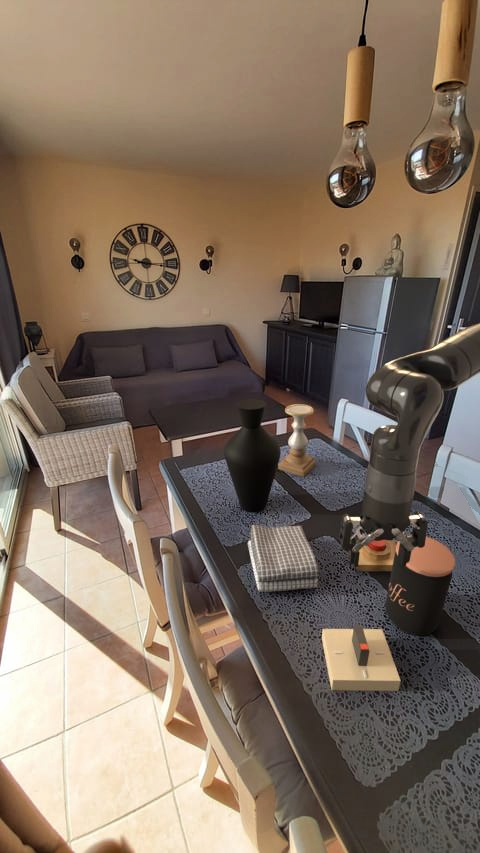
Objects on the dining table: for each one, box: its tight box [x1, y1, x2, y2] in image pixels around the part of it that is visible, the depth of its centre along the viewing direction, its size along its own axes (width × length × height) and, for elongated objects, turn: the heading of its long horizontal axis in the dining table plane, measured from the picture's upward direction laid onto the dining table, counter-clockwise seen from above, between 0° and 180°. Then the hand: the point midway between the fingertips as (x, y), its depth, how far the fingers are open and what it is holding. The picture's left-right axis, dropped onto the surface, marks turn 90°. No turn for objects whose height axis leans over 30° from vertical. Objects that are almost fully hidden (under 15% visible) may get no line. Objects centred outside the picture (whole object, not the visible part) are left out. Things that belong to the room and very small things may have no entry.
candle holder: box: [277, 403, 317, 478], centre depth 134 cm, size 11×11×24 cm
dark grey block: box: [352, 625, 369, 666], centre depth 68 cm, size 5×2×4 cm, turn 178°
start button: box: [369, 540, 386, 551], centre depth 93 cm, size 4×4×2 cm
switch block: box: [355, 539, 397, 572], centre depth 94 cm, size 12×10×4 cm
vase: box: [223, 398, 282, 514], centre depth 110 cm, size 17×17×35 cm
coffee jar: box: [384, 534, 456, 637], centre depth 75 cm, size 11×11×18 cm
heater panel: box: [321, 628, 401, 692], centre depth 69 cm, size 12×10×3 cm
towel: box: [247, 524, 320, 593], centre depth 92 cm, size 15×18×8 cm
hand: (377, 563), depth 66 cm, fingers open, 8 cm apart
